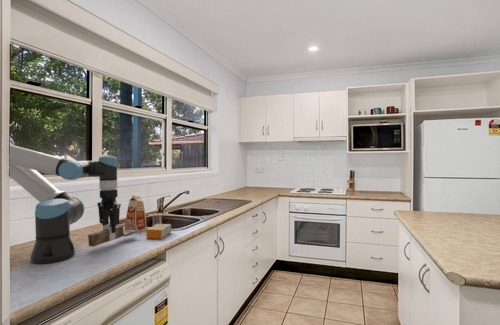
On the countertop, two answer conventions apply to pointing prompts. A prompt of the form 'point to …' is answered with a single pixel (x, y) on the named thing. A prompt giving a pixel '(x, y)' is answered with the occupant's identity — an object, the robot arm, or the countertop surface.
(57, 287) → the countertop surface
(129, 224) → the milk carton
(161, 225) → the supplement box
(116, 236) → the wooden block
